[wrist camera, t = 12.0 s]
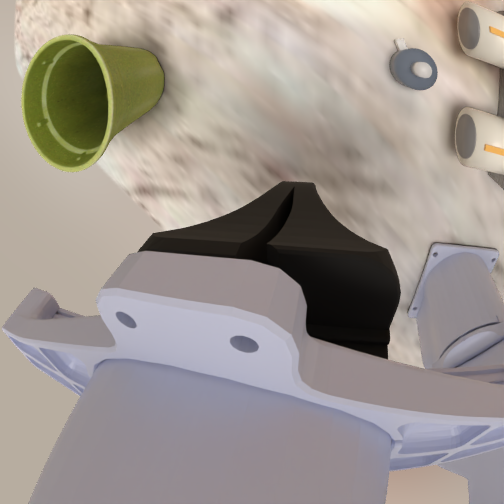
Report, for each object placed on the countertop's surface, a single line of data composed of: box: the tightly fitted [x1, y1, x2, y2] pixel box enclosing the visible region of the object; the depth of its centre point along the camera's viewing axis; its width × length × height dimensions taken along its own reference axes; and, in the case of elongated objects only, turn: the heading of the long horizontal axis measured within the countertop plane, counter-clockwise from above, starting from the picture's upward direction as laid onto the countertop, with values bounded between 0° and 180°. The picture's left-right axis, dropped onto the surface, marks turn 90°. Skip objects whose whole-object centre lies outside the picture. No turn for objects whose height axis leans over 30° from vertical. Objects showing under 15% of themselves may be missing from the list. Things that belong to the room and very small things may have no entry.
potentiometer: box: [390, 38, 437, 90], centre depth 13 cm, size 4×3×4 cm
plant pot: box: [21, 35, 164, 172], centre depth 16 cm, size 9×9×9 cm
